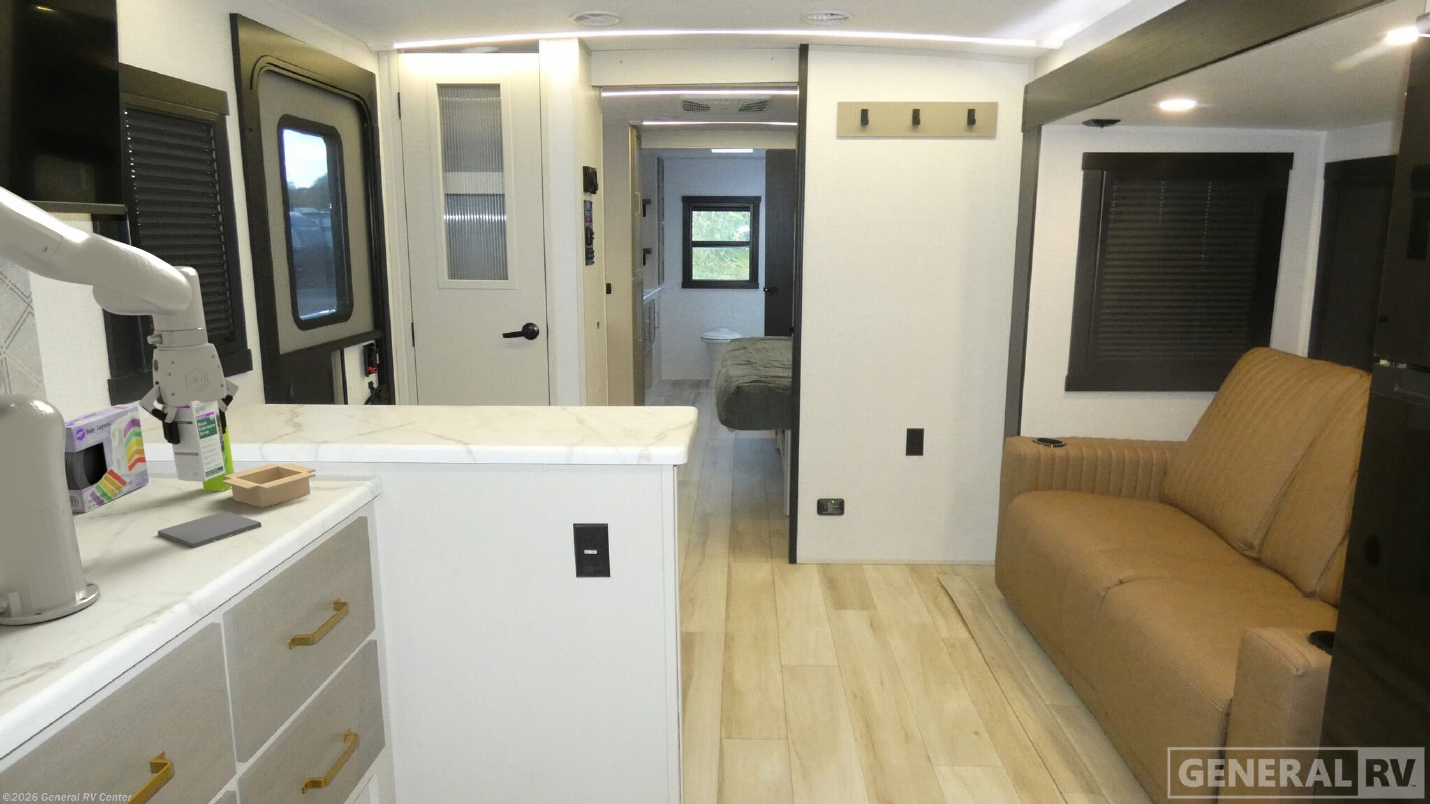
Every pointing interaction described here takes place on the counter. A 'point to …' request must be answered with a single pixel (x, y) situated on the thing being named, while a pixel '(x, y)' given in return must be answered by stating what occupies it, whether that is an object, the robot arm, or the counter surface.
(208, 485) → the soap dispenser
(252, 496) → the carton
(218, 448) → the syrup box
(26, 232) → the robot arm
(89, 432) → the cake pan box
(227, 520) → the mat
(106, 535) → the counter surface
